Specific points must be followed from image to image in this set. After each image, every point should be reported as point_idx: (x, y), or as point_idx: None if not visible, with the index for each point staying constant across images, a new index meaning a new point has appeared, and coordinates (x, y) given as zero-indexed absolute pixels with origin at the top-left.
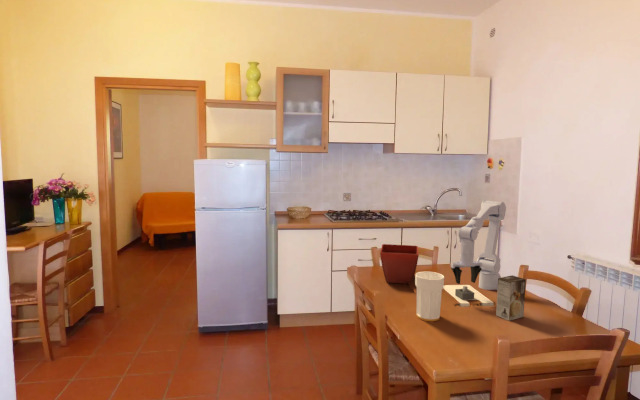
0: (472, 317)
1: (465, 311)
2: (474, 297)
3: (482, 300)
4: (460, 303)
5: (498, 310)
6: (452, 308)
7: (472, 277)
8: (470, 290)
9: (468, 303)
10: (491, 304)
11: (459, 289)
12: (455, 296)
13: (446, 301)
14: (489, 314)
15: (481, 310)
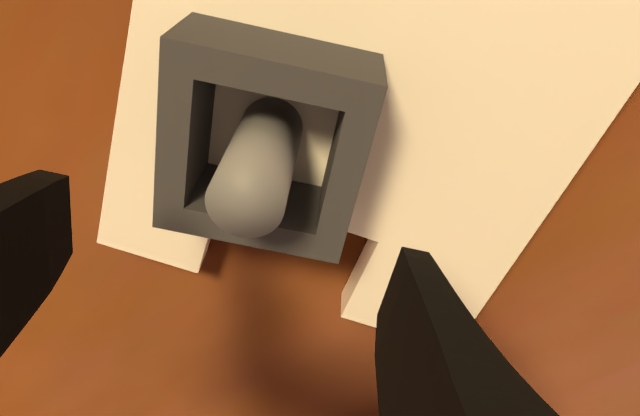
0: (85, 392)
1: (96, 309)
2: (396, 176)
3: None
4: (98, 240)
5: None
6: None
7: (403, 342)
8: (360, 182)
9: (188, 268)
10: None
11: (219, 77)
12: None
13: (30, 39)
14: (256, 405)
15: (254, 343)
